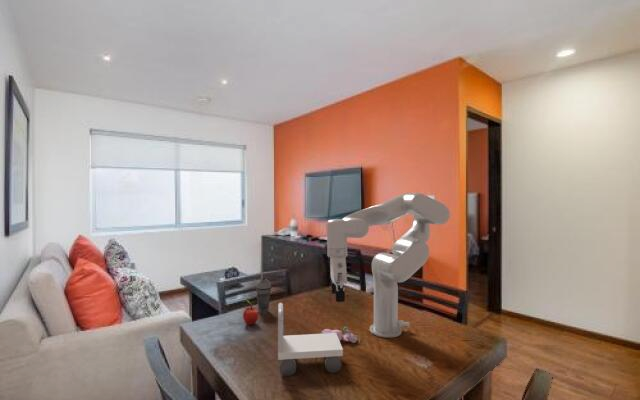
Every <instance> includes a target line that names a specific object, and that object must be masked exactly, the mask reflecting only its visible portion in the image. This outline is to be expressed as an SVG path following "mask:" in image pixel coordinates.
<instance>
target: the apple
mask: <svg viewBox="0 0 640 400" xmlns="http://www.w3.org/2000/svg"><path fill="white" fill-rule="evenodd" d="M243 302H248V304H249V305H250V306H248V307H246V308H245V309H244V310H243V314H242V317H243V320H244V323H245V324H246V325H247V326H254V325H255V324H256V323H257V321H258V320H259V314H260V313H259V310H258V309H257V308H255V307H253V304H252V303H251V302H250V300H247V299H245V300H243Z"/></svg>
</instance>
